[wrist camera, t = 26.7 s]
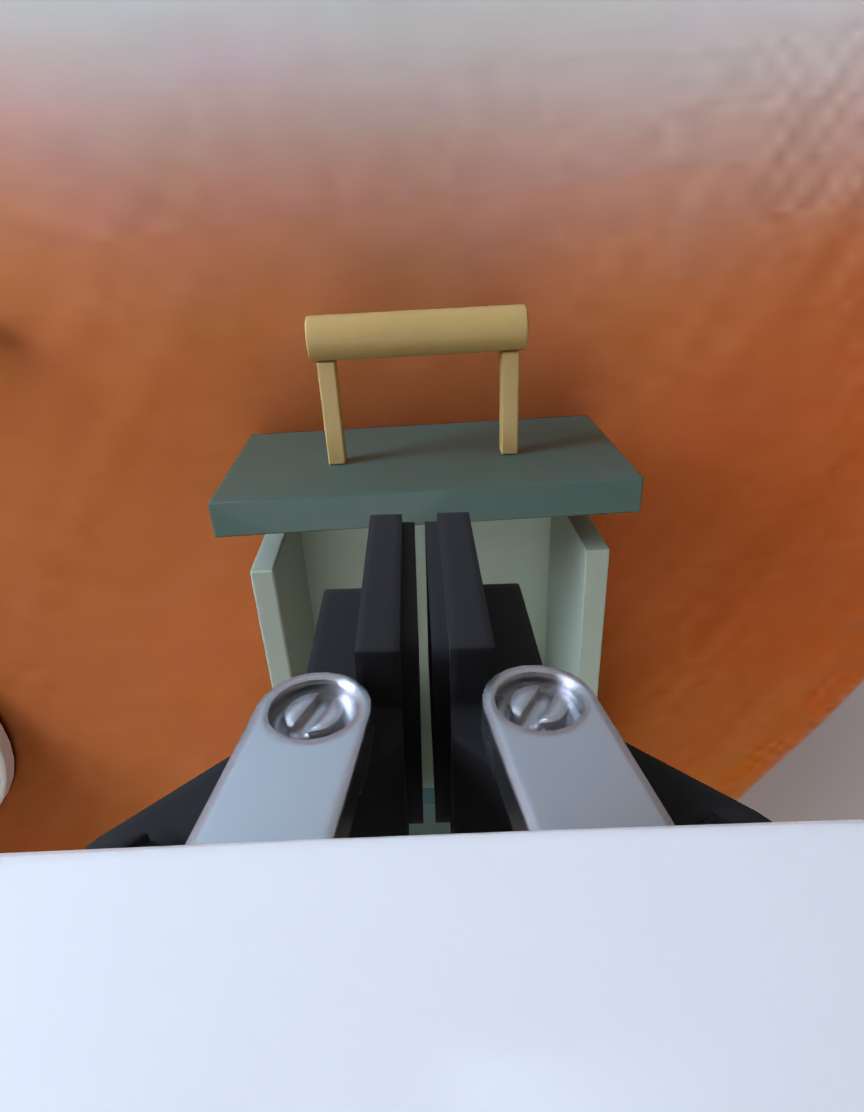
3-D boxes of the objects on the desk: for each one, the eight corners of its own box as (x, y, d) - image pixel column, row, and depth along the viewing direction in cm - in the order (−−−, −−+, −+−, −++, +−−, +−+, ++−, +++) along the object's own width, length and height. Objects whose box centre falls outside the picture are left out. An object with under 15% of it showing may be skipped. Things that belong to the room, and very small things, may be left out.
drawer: (228, 305, 25) (171, 339, 19) (595, 285, 25) (661, 312, 19) (302, 732, 34) (281, 849, 28) (569, 714, 35) (607, 827, 28)
